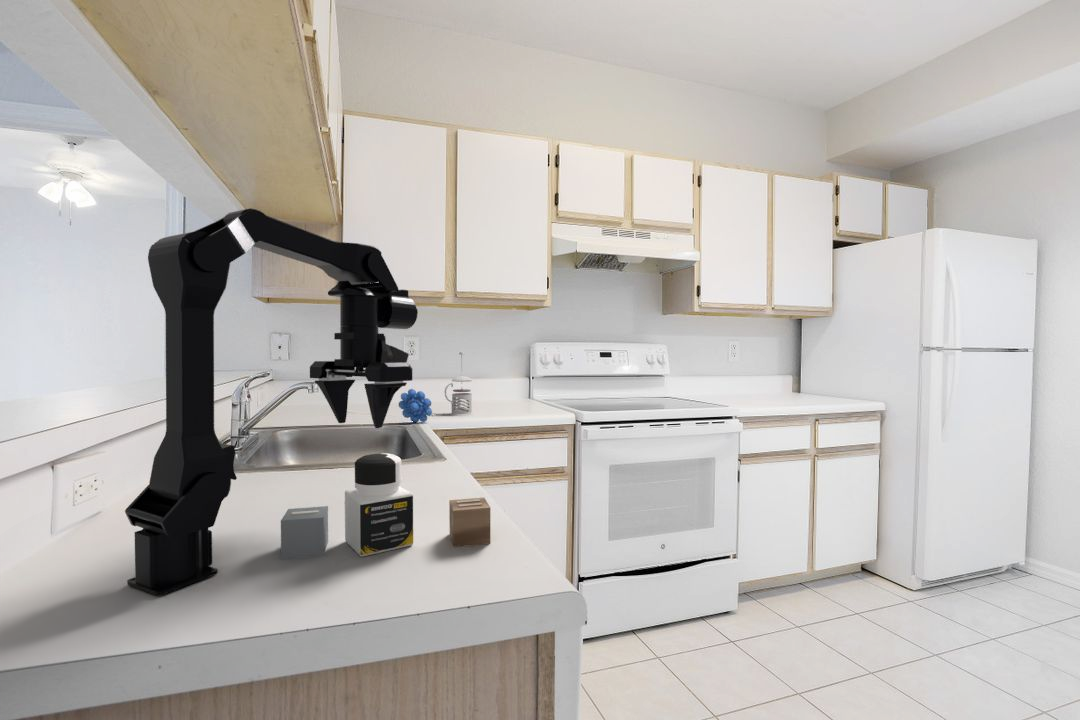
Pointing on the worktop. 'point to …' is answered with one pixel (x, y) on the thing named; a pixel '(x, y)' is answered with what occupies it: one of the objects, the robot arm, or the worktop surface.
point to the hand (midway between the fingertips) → (359, 425)
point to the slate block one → (304, 532)
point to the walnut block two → (469, 522)
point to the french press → (461, 397)
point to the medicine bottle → (378, 507)
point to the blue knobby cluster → (415, 406)
